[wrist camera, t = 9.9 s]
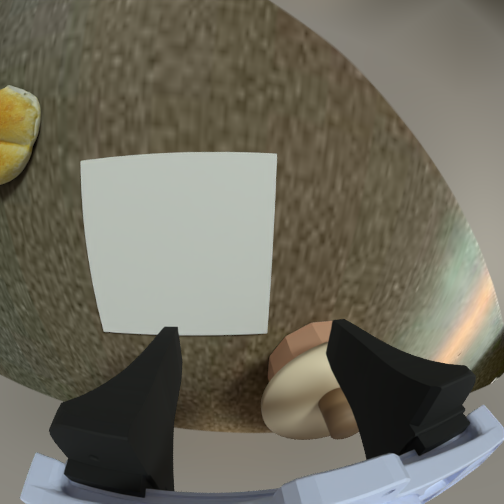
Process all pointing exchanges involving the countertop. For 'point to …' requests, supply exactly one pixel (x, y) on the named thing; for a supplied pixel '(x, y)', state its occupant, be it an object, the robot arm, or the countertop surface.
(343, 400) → the lid
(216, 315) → the mat
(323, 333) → the bowl
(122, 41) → the countertop surface
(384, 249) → the countertop surface
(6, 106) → the bread roll
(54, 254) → the countertop surface
